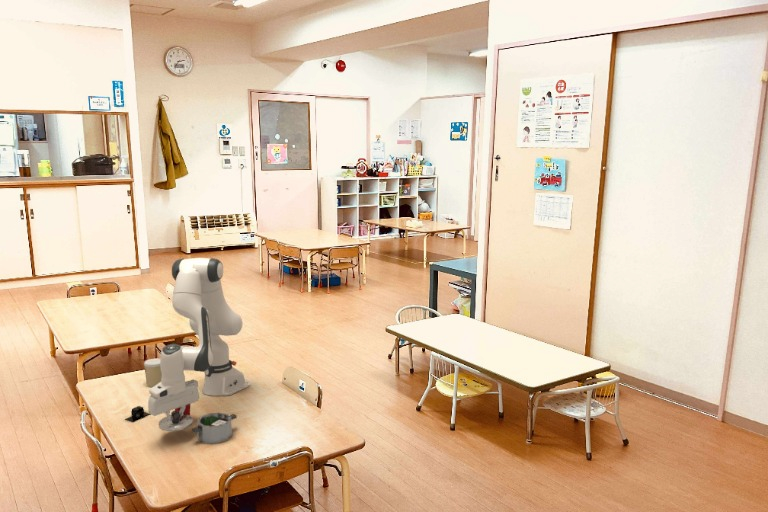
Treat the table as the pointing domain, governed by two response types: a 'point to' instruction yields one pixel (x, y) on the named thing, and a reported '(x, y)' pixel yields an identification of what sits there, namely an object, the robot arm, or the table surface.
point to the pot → (214, 428)
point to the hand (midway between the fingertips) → (175, 418)
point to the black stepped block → (137, 414)
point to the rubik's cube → (218, 423)
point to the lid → (175, 422)
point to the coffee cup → (153, 372)
